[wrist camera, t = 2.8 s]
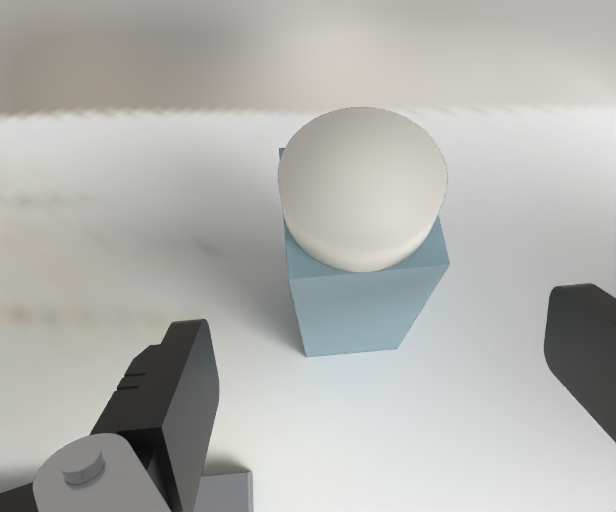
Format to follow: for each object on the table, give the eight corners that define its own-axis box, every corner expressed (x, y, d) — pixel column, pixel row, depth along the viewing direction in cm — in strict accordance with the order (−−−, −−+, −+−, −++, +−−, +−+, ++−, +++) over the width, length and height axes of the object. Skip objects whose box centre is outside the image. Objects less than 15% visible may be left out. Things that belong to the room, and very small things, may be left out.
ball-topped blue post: (383, 265, 24) (429, 100, 13) (396, 348, 22) (464, 240, 11) (299, 273, 24) (273, 115, 13) (306, 357, 22) (282, 257, 11)
